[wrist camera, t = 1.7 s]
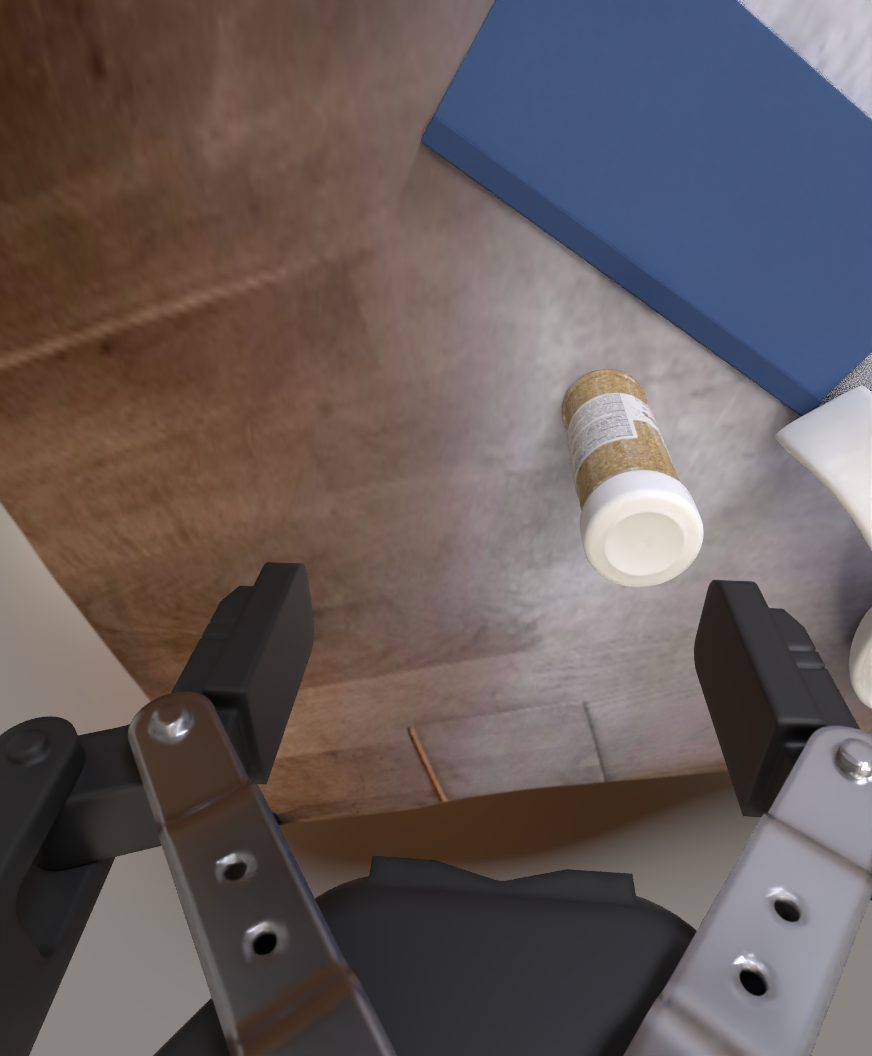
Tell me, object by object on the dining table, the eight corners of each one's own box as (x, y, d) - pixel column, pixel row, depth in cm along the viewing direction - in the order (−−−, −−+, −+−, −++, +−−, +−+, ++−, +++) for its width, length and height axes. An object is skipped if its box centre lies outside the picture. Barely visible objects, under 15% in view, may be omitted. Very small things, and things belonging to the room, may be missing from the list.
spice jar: (655, 426, 38) (719, 571, 27) (576, 455, 40) (605, 605, 28) (630, 352, 36) (688, 476, 25) (547, 385, 37) (567, 517, 26)
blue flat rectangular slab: (421, 140, 32) (419, 141, 31) (572, -142, 26) (574, -146, 26) (801, 414, 37) (805, 419, 37) (992, 229, 32) (999, 232, 31)
